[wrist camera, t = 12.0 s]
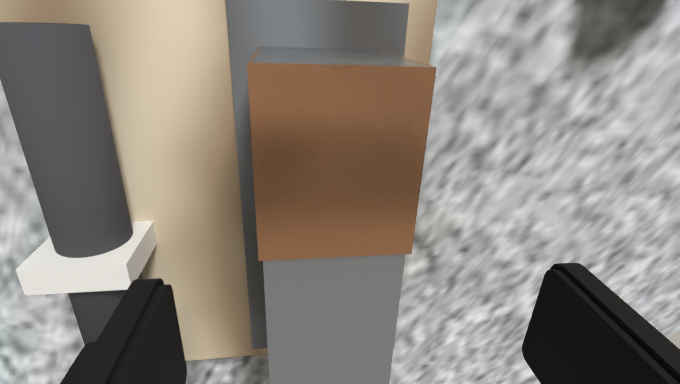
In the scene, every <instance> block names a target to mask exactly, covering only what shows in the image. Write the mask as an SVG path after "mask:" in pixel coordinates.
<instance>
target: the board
mask: <svg viewBox="0 0 680 384" xmlns="http://www.w3.org/2000/svg"><path fill="white" fill-rule="evenodd" d="M436 6H437V0H0V22H33V23H68V24H86V25H89V26H90V31H91V35H92V40H93V45H94V49H95V54H96V59H97V64H98V68H99V73H100V78H101V82H102V87H103V92H104V96H105V101H106V106H107V111H108V115H109V120H110V125H111V129H112V134H113V139H114V143H115V148H116V153H117V158H118V162H119V167H120V172H121V176H122V181H123V186H124V191H125V195H126V200H127V205H128V209H129V214H130V219H131V222H139V221H153V223H154V228H155V234H156V239H157V244H156V246H155V248H154V250H153V252H152V254H151V255H150V257H149V259H148V261H147V263H146V264H145V266H144V268H143V270H142V275H143V279H156V278H161V279H162V280H163V281H164V285H166V284H170V285H171V286H172V289H173V294H174V300H175V306H176V311H177V317H178V322H179V328H180V333H181V339H182V345H183V350H184V356H185V361H191V360H203V359H215V358H227V357H240V356H252V355H264V354H268V345H267V327H266V308H265V290H264V271H263V261H259V260H258V243H257V226H256V209H255V193H254V176H253V159H252V142H251V125H250V108H249V92H248V75H247V62H248V61H249V59H250V58H251V57H252V55H253V54H254V53H255V51H256V50H257V49H258V47H259V46H271V47H304V48H337V49H370V50H384V51H387V52H390V53H393V54H396V55H399V56H402V57H405V58H409V59H412V60H415V61H418V62H421V63H424V64H427V65H429V62H430V54H431V46H432V38H433V30H434V22H435V14H436ZM395 331H396V330H395ZM394 339H395V338H394Z"/></svg>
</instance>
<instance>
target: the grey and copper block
mask: <svg viewBox="0 0 680 384" xmlns="http://www.w3.org/2000/svg"><path fill="white" fill-rule="evenodd" d="M435 74H436V67H433V66H430V65H427V64H424V63H421V62H418V61H415V60H412V59H409V58H405V57H402V56H399V55H396V54H393V53H390V52H387V51H384V50H370V49H337V48H304V47H271V46H259V47H258V49H257V50H256V51H255V53H254V54H253V55H252V57H251V58H250V59H249V61H248V62H247V75H248V92H249V108H250V125H251V142H252V159H253V176H254V193H255V209H256V226H257V243H258V260H259V261H263V271H264V290H265V308H266V327H267V345H268V364H269V383H270V384H389V378H390V370H391V362H392V354H393V346H394V338H395V330H396V323H397V315H398V307H399V299H400V291H401V283H402V275H403V268H404V260H405V254H411V252H412V245H413V237H414V230H415V222H416V215H417V208H418V200H419V193H420V185H421V178H422V170H423V163H424V156H425V148H426V141H427V133H428V126H429V119H430V111H431V104H432V96H433V89H434V81H435Z"/></svg>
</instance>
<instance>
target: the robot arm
mask: <svg viewBox="0 0 680 384" xmlns="http://www.w3.org/2000/svg"><path fill="white" fill-rule="evenodd" d="M522 352H523V356H524V359H525V361H526V362H527V364H528V365H529V367H530V368H531V370H532V371H533V373H534V374H535V376H536V377H537V379H538V380H539V381H540V383H541V384H680V349H679V348H677V347H676V346H675V345H674V344H673V343H671V341H669V340H668V339H667V338H666V337H665V336H664V335H662V334H661V333H660V332H659V331H658V330H657V329H656V328H654V327H653V326H652V325H651V324H650V323H649V322H647V321H646V320H645V319H644V318H643V317H642V316H640V315H639V314H638V313H637V312H636V311H635V310H634V309H632V308H631V307H630V306H629V305H628V304H627V303H625V302H624V301H623V300H622V299H621V298H620V297H619V296H617V295H616V294H615V293H614V292H613V291H612V290H610V289H609V288H608V287H607V286H606V285H605V284H603V283H602V282H601V281H600V280H599V279H598V278H597V277H595V276H594V275H593V274H592V273H591V272H590V271H588V270H587V269H586V268H585V267H584V266H582V265H581V264H579V263H561V264H554V265H553V266H552V267H551V268H550V270H548V271H547V272H546V273H545V276H544V279H543V282H542V285H541V288H540V291H539V295H538V298H537V301H536V304H535V307H534V310H533V313H532V317H531V320H530V323H529V326H528V329H527V332H526V336H525V339H524V342H523V345H522ZM186 375H187V368H186V361H185V356H184V350H183V345H182V339H181V333H180V328H179V322H178V317H177V311H176V306H175V300H174V294H173V289H172V286H171V285H170V284H166V285H164V281H163V280H162V279H161V278H156V279H135V280H133V281H132V283H131V284H130V286H129V287H128V289H127V291H126V292H125V294H124V296H123V297H122V299H121V301H120V302H119V304H118V306H117V307H116V309H115V311H114V312H113V314H112V316H111V317H110V319H109V321H108V322H107V324H106V326H105V327H104V329H103V331H102V332H101V334H100V336H99V337H98V339H97V341H94V342H89V343H88V344H86V345H85V346H84V348H83V349H82V350H81V352H80V353H79V355H78V356H77V358H76V359H75V361H74V363H73V364H72V366H71V367H70V369H69V371H68V372H67V374H66V375H65V377H64V379H63V380H62V382H61V383H60V384H185V382H186Z"/></svg>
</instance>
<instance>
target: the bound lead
mask: <svg viewBox="0 0 680 384" xmlns="http://www.w3.org/2000/svg"><path fill="white" fill-rule="evenodd" d="M0 79H1V82H2V86H3V89H4V92H5V95H6V98H7V101H8V105H9V108H10V111H11V114H12V117H13V120H14V123H15V127H16V130H17V133H18V136H19V139H20V142H21V146H22V149H23V152H24V155H25V158H26V161H27V164H28V168H29V171H30V174H31V177H32V180H33V183H34V187H35V190H36V193H37V196H38V199H39V202H40V206H41V209H42V212H43V215H44V218H45V221H46V224H47V228H48V231H49V234H50V237H49V238H48V239H47V240H46V241H45V242H44V243H43V244H42V245H41V246H40V247H39V248H38V249H37V250H36V251H35V252H34V253H32V254H31V255H30V256H29V257H28V258H27V259H26V260H25V261H24V262H23V263H22V264H21V265H20V266H19V267H18V268H17V269H16V272H17V275H18V277H19V280H20V283H21V285H22V288H23V291H24V293H25V295H41V294H59V293H68V294H69V297H70V300H71V303H72V307H73V310H74V313H75V316H76V319H77V322H78V325H79V329H80V332H81V335H82V338H83V341H84V344H85V345H86V344H88V343H89V342H94V341H97V339H98V337H99V336H100V334H101V332H102V331H103V329H104V327H105V326H106V324H107V322H108V321H109V319H110V317H111V316H112V314H113V312H114V311H115V309H116V307H117V306H118V304H119V302H120V301H121V299H122V297H123V296H124V294H125V292H126V291H127V289H128V287H129V286H130V284H131V283H132V281H133V280H135V279H143V275H142V270H143V268H144V266H145V264H146V263H147V261H148V259H149V257H150V255H151V254H152V252H153V250H154V248H155V246H156V244H157V239H156V234H155V228H154V223H153V221H139V222H131V219H130V214H129V209H128V205H127V200H126V195H125V191H124V186H123V181H122V176H121V172H120V167H119V162H118V158H117V153H116V148H115V143H114V139H113V134H112V129H111V125H110V120H109V115H108V111H107V106H106V101H105V96H104V92H103V87H102V82H101V78H100V73H99V68H98V64H97V59H96V54H95V49H94V45H93V40H92V35H91V31H90V26H89V25H86V24H68V23H33V22H0Z"/></svg>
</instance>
